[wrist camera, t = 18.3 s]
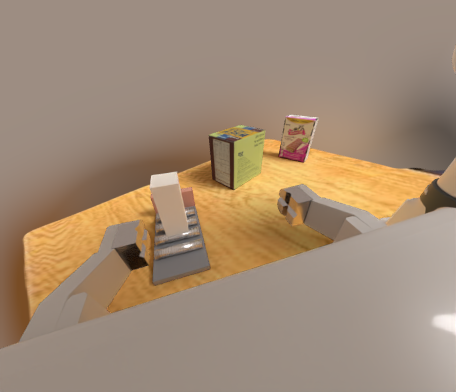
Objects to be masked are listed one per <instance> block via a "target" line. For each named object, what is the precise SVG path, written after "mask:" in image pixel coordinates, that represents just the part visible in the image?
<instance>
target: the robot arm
mask: <svg viewBox="0 0 456 392" xmlns="http://www.w3.org/2000/svg"><path fill="white" fill-rule="evenodd" d="M452 64H453V69H454V71H455V74H456V45H455V48H454V52H453V58H452ZM279 195H280V198H279V199H278V203H277V205H278V209H279V211H280V213H281V214H283V215H285V216H286V220H287V221H288V222H289V224H290V225H291V226H295V225H299V224H303V223H304V224H305V225H307V226H309V227H310V228H312V229H314V230H316V231H318V232H319V233H321V234H323V235H325V236H327V237H329V238H330V239H332V240H334V241H333V243H331V244H328V245H325V246H322V247H319V248H316V249H312V250H309V251H306V252H303V253H300V254H297V255H294V256H290V257H287V258H284V259H281V260H278V261H275V262H272V263H268V264H265V265H262V266H259V267H256V268H253V269H249V270H246V271H243V272H240V273H237V274H234V275H231V276H227V277H224V278H221V279H218V280H215V281H212V282H208V283H205V284H202V285H199V286H196V287H193V288H190V289H186V290H183V291H180V292H177V293H174V294H171V295H167V296H164V297H161V298H158V299H155V300H152V301H149V302H145V303H142V304H139V305H136V306H133V307H130V308H126V309H123V310H120V311H117V312H114V313H110V312H109V311H108V310H106V309H107V307H108V306H109V304H110V303H111V301H112V300H113V298H114V297H115V295H116V294H117V292H118V291H119V289H120V288H121V286H122V285H123V283H124V282H125V280H126V279H127V277H128V276H129V274H130V273H131V271H132V270H135V269H139V268H142V267H145V266H149V258H150V254H149V252H148V250H149V248H150V245H151V242H150V236H149V233H148V231H147V230H145V229H144V226H145V225H144V223H143V221H142V220H137V221H132V222H126V223H121V224H117V225H112V226H109V227H108V228H107V230H106V232H105V235H104V237H103V240H102V243H101V245H100V248H99V251H98V253H94V254H93V255H92V256H91V257H90V258H89V259H88V260H87V261H86V262H85V263H83V264H82V265H81V266H80V267H79V268H78V269H77V270H76V271H75V272H74V273H73V274H71V275H70V276H69V277H68V278H67V279H66V280H65V281H64V282H63V283H62V284H61V285H59V286H58V287H57V288H56V289H55V290H54V291H53V292H52V293H51V294H50V295H49V296H48V297H46V298H45V299H44V300H43V301H42V302H41V303H40V304H39V306H38V308H37V309H36V311H35V313H34V315H33V317H32V319H31V320H30V322H29V324H28V326H27V328H26V330H25V332H24V333H23V335H22V337H21V339H20V341H19V342H18V343H16V344H13V345H10V346H7V347H3V348H0V392H456V158H455V159H454V160H453V162H452V163H451V164H450V166H449V167H448V168H447V170H446V171H445V172H444V173H443V174H442V176H441V177H440V178H438V179H435V180H434V181H433V182H432V183H431V184H429V185H428V186H427V187H426V188H425V190H424V192H423V193H422V194H421V196H420V198H413V199H407V200H406V201H405V202H404V203H403V204H402V205H401V206H400V207H399V208H398V209H397V210H396V212H395V213H394V214H393V215H392V216H391V217H388V218H381V219H380V220H379V219H378V218H376V217H375V216H373V215H372V214H370V213H369V212H368V211H365V210H362V209H358V208H355V207H352V206H349V205H346V204H342V203H339V202H336V201H333V200H330V199H327V198H321V197H319V196H318V195H317V194H316V193H314V192H313V191H312V190H311V189H309V188H308V187H307V186H306V185H304V184H301V185H296V186H293V187H289V188H284V189H281V190H280V192H279Z"/></svg>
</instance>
